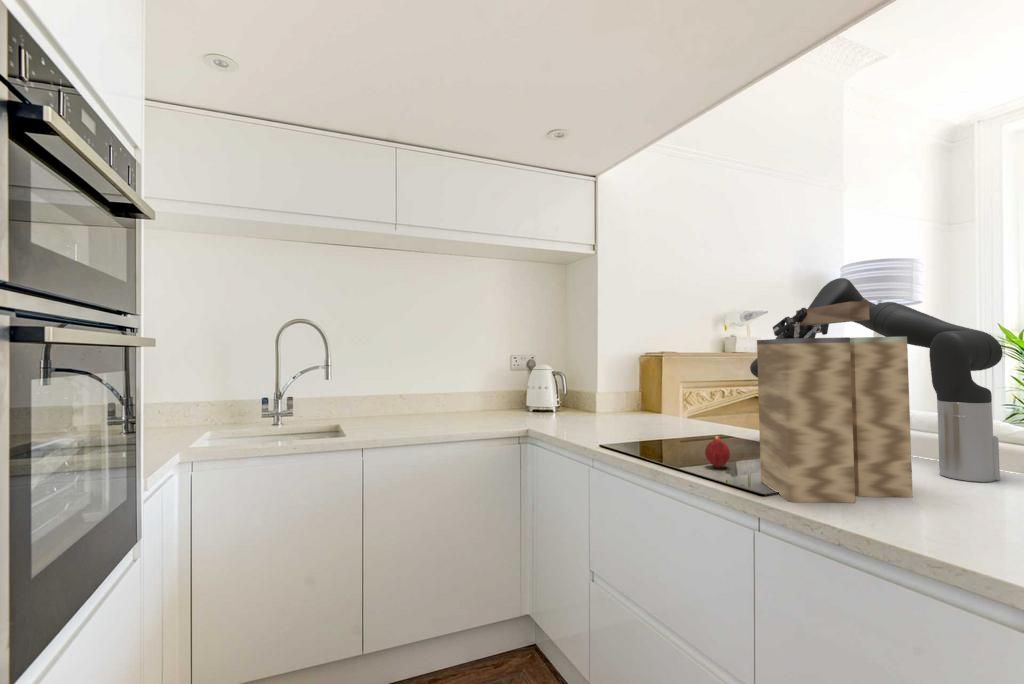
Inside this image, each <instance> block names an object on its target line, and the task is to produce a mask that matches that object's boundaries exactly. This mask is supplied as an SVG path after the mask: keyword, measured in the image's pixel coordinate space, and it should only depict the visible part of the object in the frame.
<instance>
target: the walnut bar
mask: <svg viewBox="0 0 1024 684" xmlns="http://www.w3.org/2000/svg"><path fill="white" fill-rule="evenodd" d="M869 302H870V301H869V300H868V301H856V302H844V303H838V304H833V305H827V306H821V307H815V308H809V309H808V308H806V311H807V316H806V317H805V318H804V320H803V321H802V322H800V325H799V326H810V325H822V324H829V325H830V324H840V323H851V322H852V321H862V320H870V319H869ZM799 310H800V309H799ZM799 310H797V309H796V311H795V315H796V314H797V312H798V311H799Z"/></svg>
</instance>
